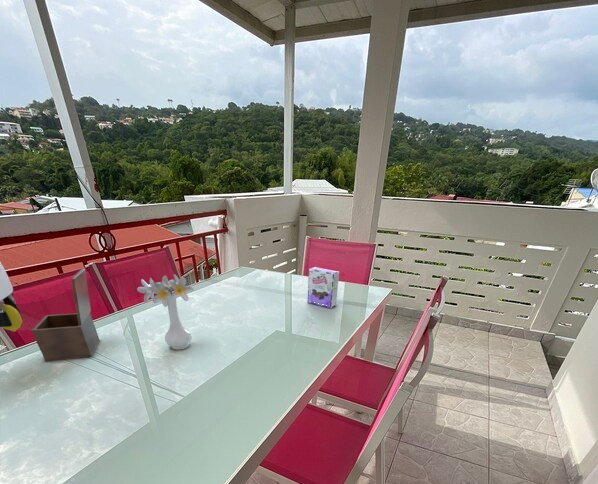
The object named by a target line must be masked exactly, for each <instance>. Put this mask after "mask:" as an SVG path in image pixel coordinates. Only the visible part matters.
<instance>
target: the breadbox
mask: <svg viewBox="0 0 598 484" xmlns="http://www.w3.org/2000/svg"><path fill="white" fill-rule="evenodd" d="M31 333H32V335H33V337H34V339H35V342H36V343H37V346H38V348H39V350H40V352H41V354H42V356H43V359H44V361H45V362H53V361H65V360H75V359H84V358H86V359H87V358H92V357H93V355H94V353H95V352H96V349H97V347H98V345H99V343H100V337H99V334H98V332H97V328H96V326H95V323H94V320H93V317H92V314H91V312H90V313H89V315H88V316H87V318H86V319H85V321H84V322H83V324H82V325H78V318H77V312H74V313H59V314H46V315H45V316H43V317H42V318H41V320H40V321H39V322H38V323H37V324H35V326H34V327H33V328H32V329H31Z"/></svg>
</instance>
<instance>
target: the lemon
mask: <svg viewBox="0 0 598 484" xmlns="http://www.w3.org/2000/svg"><path fill="white" fill-rule="evenodd" d="M2 306H3V309H4V312H7V314H8V317H9V319H10V321H11V323H12V326H11V327H1V329H4V330H6V331H11V332H17V330H18V329H20V328H21V326H22V325H23V319H22V315H21V316H20V314H21V313H20V314H19V312H20V311H19V312H18V311H17V310H16V309H15V308H14V307H12V306H10V305H5V304H3V303H2Z"/></svg>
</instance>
